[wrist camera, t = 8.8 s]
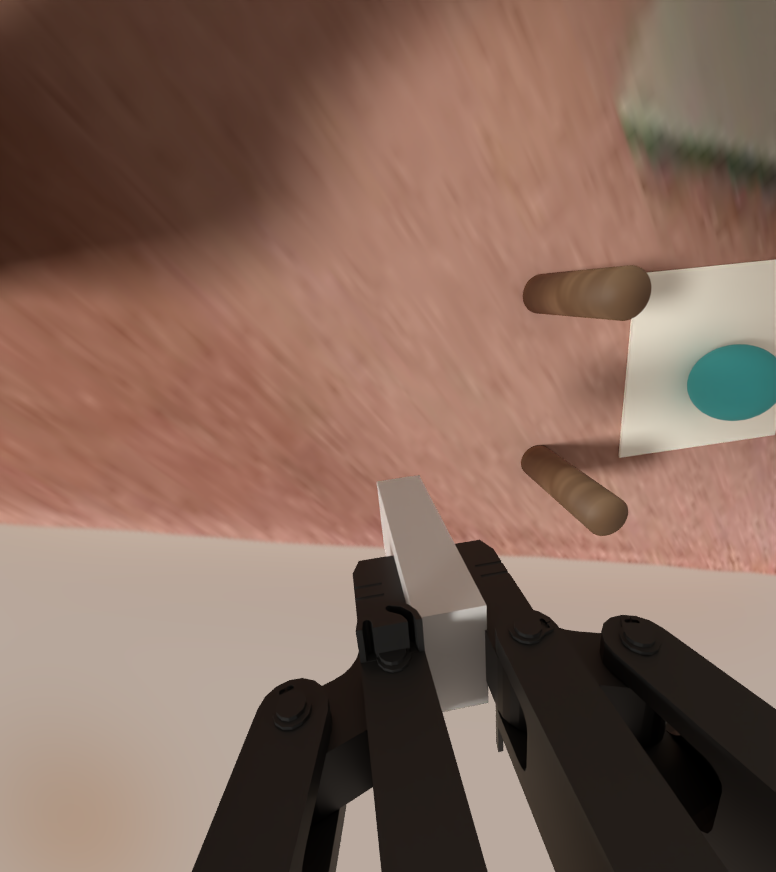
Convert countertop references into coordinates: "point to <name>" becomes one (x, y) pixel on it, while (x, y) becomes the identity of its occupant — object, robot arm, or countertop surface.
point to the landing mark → (693, 353)
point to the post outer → (575, 491)
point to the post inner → (590, 293)
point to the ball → (734, 382)
